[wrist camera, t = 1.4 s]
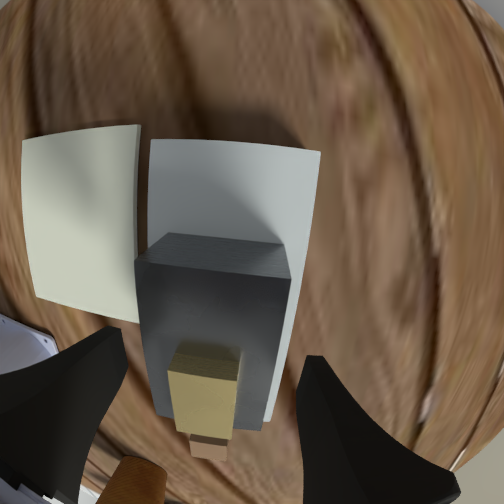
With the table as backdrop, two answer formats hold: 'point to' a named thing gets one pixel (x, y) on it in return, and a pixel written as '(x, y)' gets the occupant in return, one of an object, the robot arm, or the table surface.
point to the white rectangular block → (236, 214)
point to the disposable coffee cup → (135, 483)
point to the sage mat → (83, 218)
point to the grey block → (211, 328)
